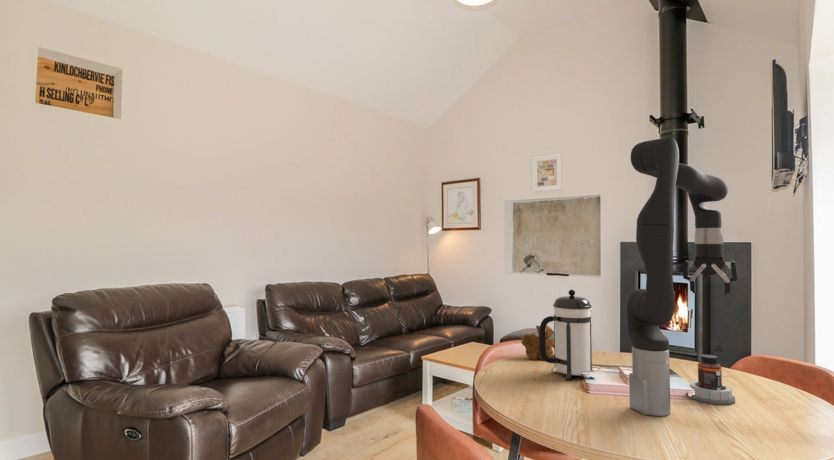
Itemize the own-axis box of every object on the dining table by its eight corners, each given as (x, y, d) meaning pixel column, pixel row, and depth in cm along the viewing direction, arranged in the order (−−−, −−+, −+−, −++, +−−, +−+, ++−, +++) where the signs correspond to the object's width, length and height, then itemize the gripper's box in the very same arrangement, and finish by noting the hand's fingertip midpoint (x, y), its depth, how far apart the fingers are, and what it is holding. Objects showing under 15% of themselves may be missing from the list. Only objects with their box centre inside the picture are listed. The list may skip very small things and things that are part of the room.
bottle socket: (708, 406, 128) (708, 393, 128) (678, 392, 140) (677, 381, 140) (745, 403, 130) (745, 391, 130) (712, 390, 142) (712, 378, 142)
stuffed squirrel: (562, 360, 179) (562, 327, 179) (529, 362, 176) (529, 328, 176) (550, 354, 188) (549, 322, 189) (518, 356, 186) (518, 324, 186)
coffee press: (556, 366, 169) (554, 286, 170) (600, 373, 160) (599, 289, 161) (539, 378, 155) (538, 290, 156) (587, 386, 146) (585, 293, 147)
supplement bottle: (726, 398, 131) (725, 358, 132) (704, 397, 132) (702, 358, 133) (716, 391, 137) (715, 354, 138) (695, 390, 138) (694, 353, 139)
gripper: (681, 242, 144) (682, 293, 144) (735, 242, 136) (737, 296, 135) (683, 242, 150) (685, 291, 150) (736, 242, 142) (737, 294, 141)
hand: (709, 293), depth 143 cm, fingers open, 8 cm apart
